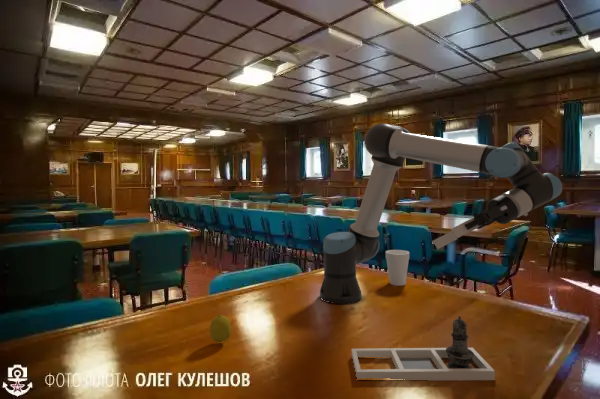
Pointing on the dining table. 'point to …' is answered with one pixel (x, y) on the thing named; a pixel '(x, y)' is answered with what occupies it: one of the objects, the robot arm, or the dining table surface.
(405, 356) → the pocket rack
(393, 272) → the foam cup
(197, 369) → the dining table surface
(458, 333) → the dark chess piece
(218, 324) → the lemon
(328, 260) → the robot arm
